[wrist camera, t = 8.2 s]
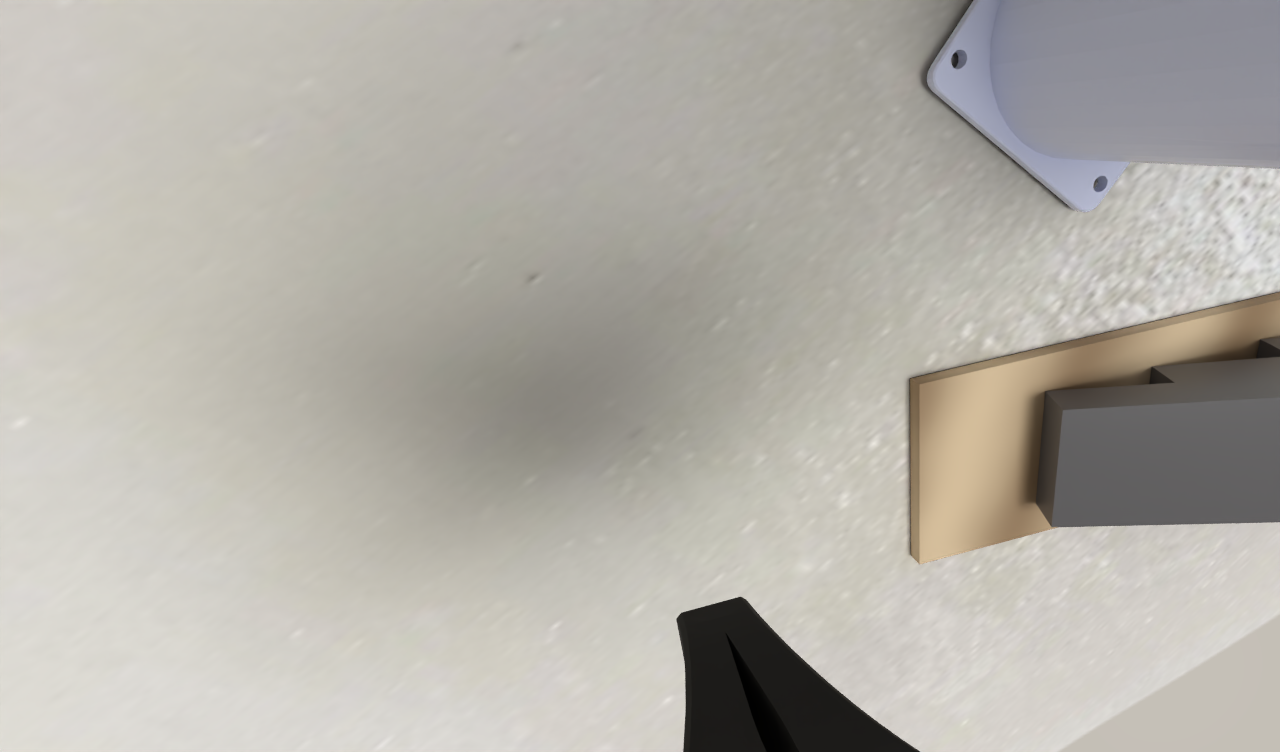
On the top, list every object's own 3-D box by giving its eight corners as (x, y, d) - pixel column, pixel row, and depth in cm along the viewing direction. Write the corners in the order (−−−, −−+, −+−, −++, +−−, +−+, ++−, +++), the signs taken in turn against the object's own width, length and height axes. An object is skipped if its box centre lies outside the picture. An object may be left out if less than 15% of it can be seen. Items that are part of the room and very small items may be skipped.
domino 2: (1045, 390, 24) (1301, 374, 22) (1035, 503, 26) (1270, 496, 24) (1062, 410, 23) (1337, 394, 21) (1051, 527, 25) (1303, 521, 23)
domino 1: (1151, 366, 25) (1408, 347, 23) (1135, 477, 27) (1371, 468, 25) (1175, 383, 23) (1451, 364, 22) (1156, 500, 25) (1409, 491, 23)
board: (1496, 241, 27) (1517, 243, 26) (1438, 415, 30) (1455, 420, 29) (910, 378, 24) (919, 384, 23) (911, 555, 27) (919, 564, 26)
